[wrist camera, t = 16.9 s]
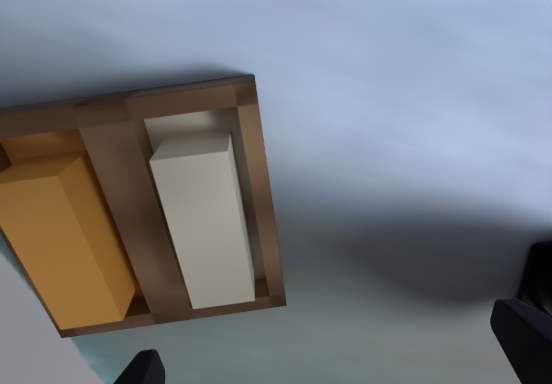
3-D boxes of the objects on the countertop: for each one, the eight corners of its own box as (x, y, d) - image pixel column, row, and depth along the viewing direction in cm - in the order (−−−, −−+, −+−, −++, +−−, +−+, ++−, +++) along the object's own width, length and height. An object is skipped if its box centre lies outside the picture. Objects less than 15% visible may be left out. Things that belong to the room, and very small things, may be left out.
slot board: (283, 280, 24) (286, 305, 22) (78, 309, 24) (61, 338, 22) (254, 74, 18) (255, 81, 16) (-25, 112, 18) (-63, 124, 16)
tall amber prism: (23, 158, 18) (-23, 186, 15) (89, 149, 18) (57, 175, 15) (86, 286, 22) (60, 329, 19) (140, 278, 22) (123, 320, 19)
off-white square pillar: (165, 136, 18) (148, 160, 15) (230, 128, 18) (227, 151, 15) (200, 268, 22) (192, 309, 19) (253, 261, 22) (254, 300, 19)
